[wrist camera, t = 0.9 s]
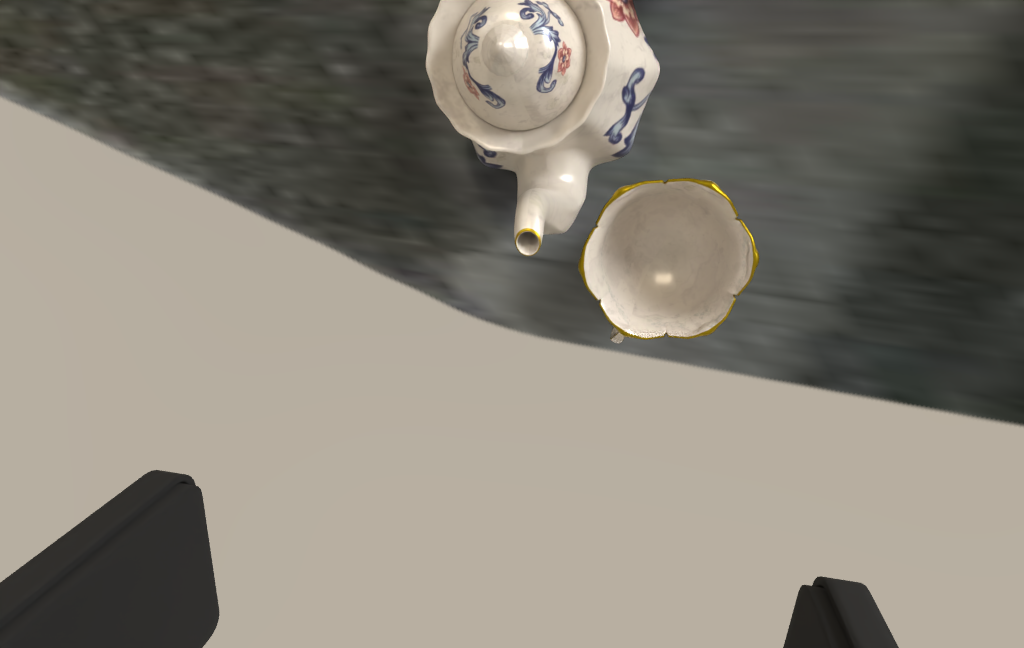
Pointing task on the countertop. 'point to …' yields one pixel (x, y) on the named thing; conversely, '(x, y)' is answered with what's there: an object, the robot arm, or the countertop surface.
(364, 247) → the countertop surface
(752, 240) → the chinaware
